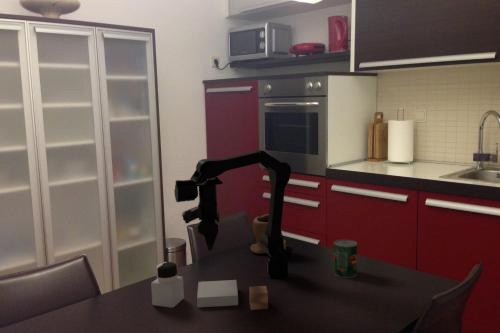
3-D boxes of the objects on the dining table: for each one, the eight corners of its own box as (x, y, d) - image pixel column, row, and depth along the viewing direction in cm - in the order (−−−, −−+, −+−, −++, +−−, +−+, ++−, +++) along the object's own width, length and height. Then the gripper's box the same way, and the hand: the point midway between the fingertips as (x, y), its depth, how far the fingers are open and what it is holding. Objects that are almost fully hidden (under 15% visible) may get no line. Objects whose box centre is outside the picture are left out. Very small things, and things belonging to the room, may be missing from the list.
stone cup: (254, 258, 175) (253, 220, 173) (248, 248, 187) (247, 213, 185) (292, 254, 178) (292, 217, 176) (284, 245, 190) (283, 210, 188)
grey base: (236, 288, 147) (236, 279, 147) (238, 305, 135) (237, 295, 135) (199, 290, 146) (198, 281, 146) (197, 307, 134) (197, 297, 134)
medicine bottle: (184, 298, 141) (182, 261, 139) (173, 308, 134) (171, 269, 132) (163, 295, 143) (162, 259, 141) (151, 305, 136) (149, 267, 135)
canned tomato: (359, 277, 154) (359, 246, 152) (335, 278, 154) (335, 246, 152) (354, 269, 161) (354, 239, 160) (332, 269, 162) (332, 239, 160)
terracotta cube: (266, 301, 137) (265, 285, 137) (268, 309, 132) (267, 292, 132) (249, 302, 137) (249, 286, 136) (250, 310, 132) (250, 293, 131)
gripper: (185, 194, 155) (188, 238, 157) (179, 206, 136) (182, 256, 139) (218, 192, 155) (220, 236, 158) (217, 204, 137) (219, 254, 139)
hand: (210, 245), depth 148 cm, fingers open, 9 cm apart
